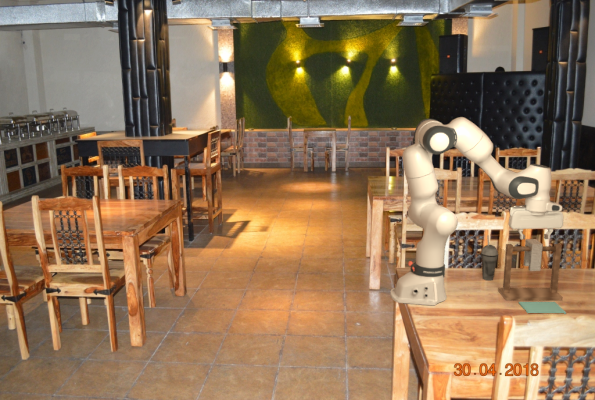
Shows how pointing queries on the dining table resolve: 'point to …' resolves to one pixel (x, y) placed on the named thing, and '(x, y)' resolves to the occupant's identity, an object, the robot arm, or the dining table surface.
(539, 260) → the tall rectangular pillar
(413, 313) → the dining table surface
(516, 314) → the dining table surface
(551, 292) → the stand
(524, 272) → the dining table surface
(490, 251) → the beverage cup
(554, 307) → the mat
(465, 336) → the dining table surface
